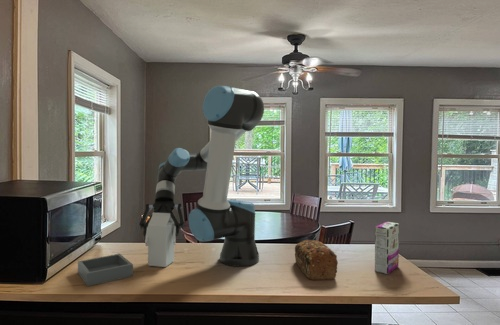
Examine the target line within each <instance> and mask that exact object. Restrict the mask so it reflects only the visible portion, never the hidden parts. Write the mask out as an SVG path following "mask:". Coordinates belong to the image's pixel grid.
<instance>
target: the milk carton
mask: <svg viewBox="0 0 500 325" xmlns="http://www.w3.org/2000/svg"><path fill="white" fill-rule="evenodd" d="M151 215H152V218H151V220H150V222H149V224H148V246H147V265H148V266H149V267H160V268H162V267H163V268H166V267H168V266H169V265H170V264H171V263H173V262H174V261H175V245H173V230H174V226H175V225H174V221H173V220H172V218H171V216H170V213H153V212H152V213H151Z"/></svg>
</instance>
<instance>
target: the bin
mask: <svg viewBox="0 0 500 325" xmlns="http://www.w3.org/2000/svg"><path fill="white" fill-rule="evenodd" d="M133 265H134V264H133V263H132V262H130V260H128V259H127V258H126V257H125V256H124V255H122V254H121V253H117V254H111V255H105V256H100V257H94V258H93V257H92V258H88V259H83V260H78V261H77V274H78V275H79V276H80V278H81V279H82V281H83V282H84V284H85V285H86V286H87V287H91V286H95V285H99V284H103V283H109V282H113V281H117V280H122V279H125V278H130V277H133V276H134V271H133V269H134V266H133Z"/></svg>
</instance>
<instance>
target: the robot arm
mask: <svg viewBox="0 0 500 325" xmlns="http://www.w3.org/2000/svg"><path fill="white" fill-rule="evenodd" d="M263 101H264V100H263V99H262V98H261V96H260V95H259V94H258V93H257V92H255V91H254V90H249V89H243V88H238V87H232V86H229V85H215V86H213V87H212V88H210V89H209V91H207V93H206V95H205V96H204V100H203V102H202V112H203V117H204V118H205V119H206V120H207V126H208V127H209V129H210V140H209V141H208V143H206V144H205V146H203V147H202V149H201V150H199V151H198V152H197V153H196V152H189V151H188V150H186V149H184V148H182V147H176V148H174V149H173V150H172V152H171V153H170V154H169V155H168V157H167V159H166V161H164V162H161V163H160V164H159V166H158V170H157V178H156V179H157V180H156V187H155V197H154V202H153V204H149V203H146V204H145V209H144V212H143V214H142V217H141V219H140V221H139V228H140V229H141V230H143V233H142V235H143V238H145V240H144V243H145V247H148V224H149V222H150V220H151V218H152V214H151V215H150V212H151V211H152V209H153V210H154V211H153V212H152V213H170V216H171V218H172V220H173V221H174V230H173V245H174V246H176V241H177V240H176V237H179V236H180V229H183V228H184V227H185V221H184V218H183V213H182V203H178V204H176V203H175V194H176V193H175V192H176V191H175V190H176V179H177V178H178V176H179V175H180V174H181V173H182V172H192V171H194V172H195V171H205V177H204V185H203V192H202V197H201V198H199V199H198V200H197V205H196V208H193V209H192V210H191V211H189V214H188V227H189V229H190V230H189V231H190V232H191V234H192V235H193V237H194V238H195V239H196V240H197V241H199V242H202V243H203V242H204V243H205V242H213V241H215V240H218V239H223V238H224V241H223V245H222V248H221V251H220V254H219V261H220V262H221V263H222V264H224V265H226V266H233V267H247V266H252V265H255V264H257V263H258V262H259V260H260V253H259V251H258V247H257V244H256V238H255V237H256V236H255V233H256V231H255V230H256V210H255V209H256V208H255V207H256V206H255V204H254V203H253V202H250V201H246V200H245V201H244V200H237V199H233V200H232V199H228V194H229V188H230V181H231V175H232V168H233V160H234V153H235V148H236V142H237V141H238V140H239V139H240V138H241V137H242V136H243V135H244V134H246V133H247V132H251V131H253V130H254V128H256V127H257V126H258V125H259V123H260V122H261V120H262V119H263V117H264V114H265V113H264V112H265V106H264V105H265V104H264V102H263ZM174 209H175V210H176V211H177V216H178V219H179V222H178V220H177V218H176V216H175V215H174V212H173V211H174ZM149 215H150V217H149Z"/></svg>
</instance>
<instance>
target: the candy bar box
mask: <svg viewBox="0 0 500 325" xmlns="http://www.w3.org/2000/svg"><path fill="white" fill-rule="evenodd" d="M374 228H375V229H374V272H376V273H380V274H385V275H389V274H391V273H392V272H393V271H395V270H396V268H398V267H399V256H400V255H399V252H400V251H399V250H400V249H399V248H400V247H399V246H400V245H399V244H400V243H399V242H400V239H399V238H400V223H398V222H393V221H385V222H383V223H382V222H381V224H378V225H376V226H374Z"/></svg>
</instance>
